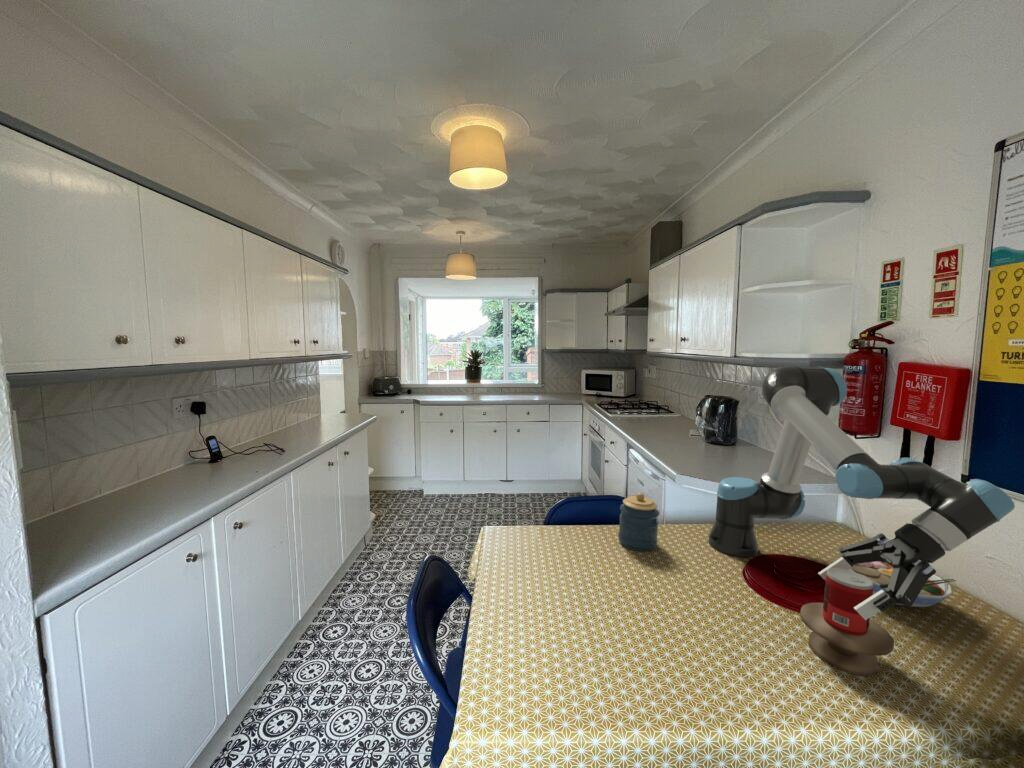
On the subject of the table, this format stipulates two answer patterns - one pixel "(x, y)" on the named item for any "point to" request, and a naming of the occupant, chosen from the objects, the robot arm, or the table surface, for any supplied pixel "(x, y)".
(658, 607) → the table surface
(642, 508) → the canister
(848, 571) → the canned food
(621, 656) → the table surface
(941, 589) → the ramen bowl
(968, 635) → the table surface
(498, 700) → the table surface
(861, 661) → the cake stand
